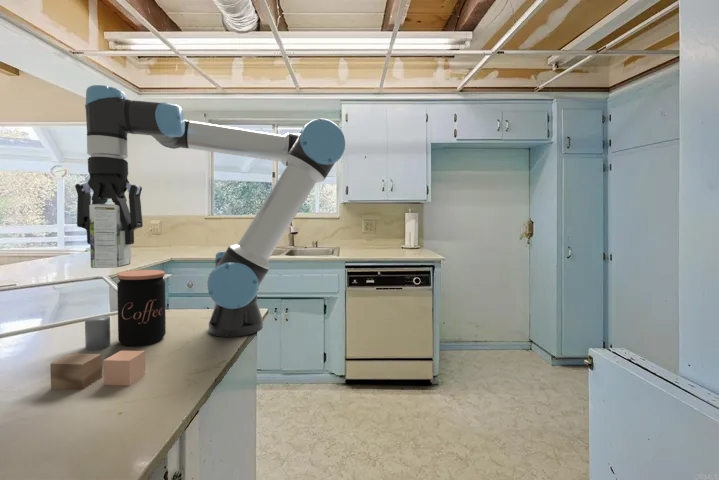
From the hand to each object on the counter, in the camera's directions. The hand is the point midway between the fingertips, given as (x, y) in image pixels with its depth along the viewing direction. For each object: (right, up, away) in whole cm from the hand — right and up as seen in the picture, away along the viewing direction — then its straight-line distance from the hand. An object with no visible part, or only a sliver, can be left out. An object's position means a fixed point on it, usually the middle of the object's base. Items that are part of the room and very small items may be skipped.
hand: (111, 258), depth 82 cm
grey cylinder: (-7, -22, +6) cm, 24 cm away
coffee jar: (+1, -22, +11) cm, 25 cm away
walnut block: (+3, -24, -13) cm, 27 cm away
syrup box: (0, -2, 0) cm, 2 cm away
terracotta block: (+11, -24, -11) cm, 28 cm away
